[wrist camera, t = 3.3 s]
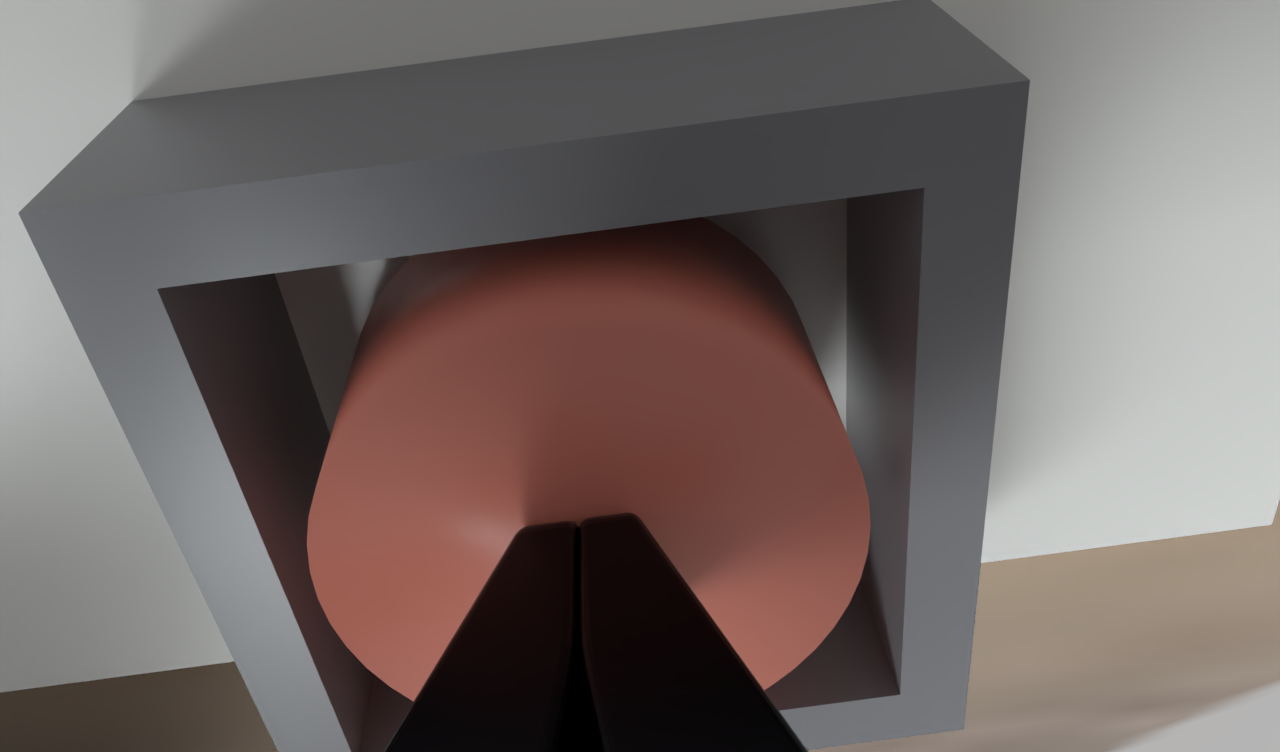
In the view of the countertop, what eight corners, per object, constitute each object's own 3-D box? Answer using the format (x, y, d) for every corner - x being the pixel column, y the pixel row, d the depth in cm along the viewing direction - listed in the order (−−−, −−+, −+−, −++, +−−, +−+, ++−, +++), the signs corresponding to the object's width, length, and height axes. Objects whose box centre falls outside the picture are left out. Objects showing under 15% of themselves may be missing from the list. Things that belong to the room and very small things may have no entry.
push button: (412, 594, 10) (386, 770, 9) (293, 225, 8) (225, 367, 6) (815, 540, 10) (866, 707, 9) (807, 159, 8) (873, 281, 6)
